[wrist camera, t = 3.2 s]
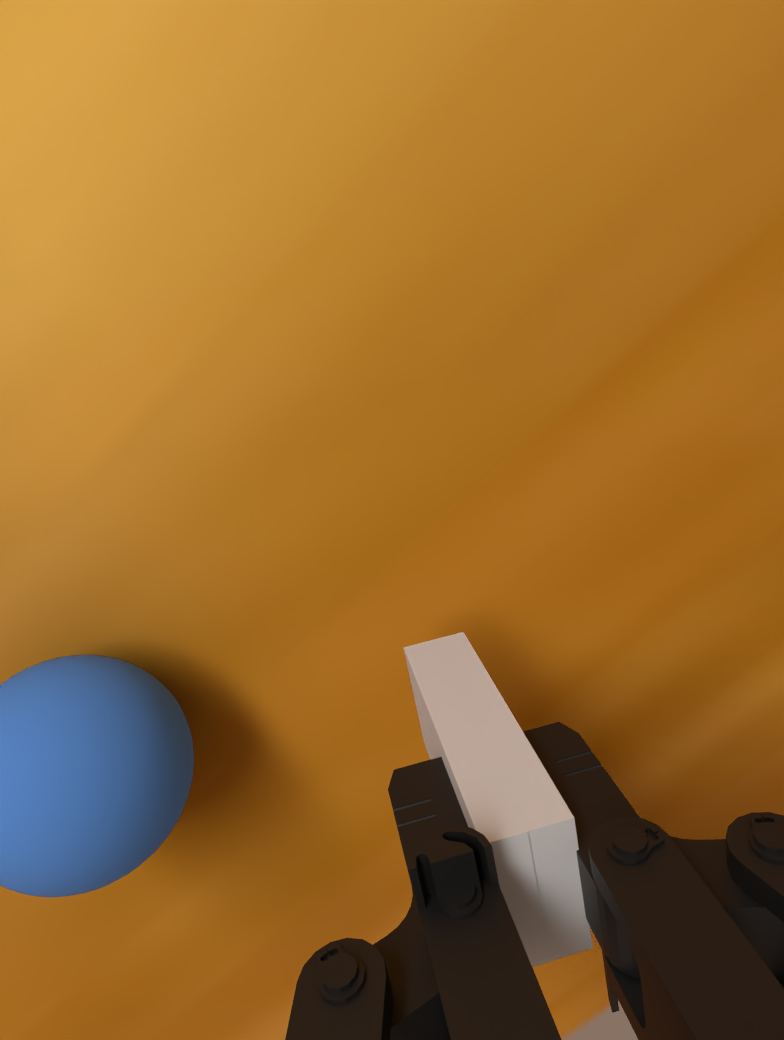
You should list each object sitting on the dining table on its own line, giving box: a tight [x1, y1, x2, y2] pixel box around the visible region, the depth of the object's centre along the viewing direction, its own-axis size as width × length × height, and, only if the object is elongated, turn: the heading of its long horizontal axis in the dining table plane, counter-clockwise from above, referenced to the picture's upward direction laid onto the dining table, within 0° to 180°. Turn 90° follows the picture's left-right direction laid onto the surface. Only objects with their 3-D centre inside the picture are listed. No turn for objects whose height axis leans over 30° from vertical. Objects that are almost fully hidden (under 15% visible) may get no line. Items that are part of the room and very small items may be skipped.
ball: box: [0, 655, 194, 897], centre depth 17 cm, size 6×6×6 cm
